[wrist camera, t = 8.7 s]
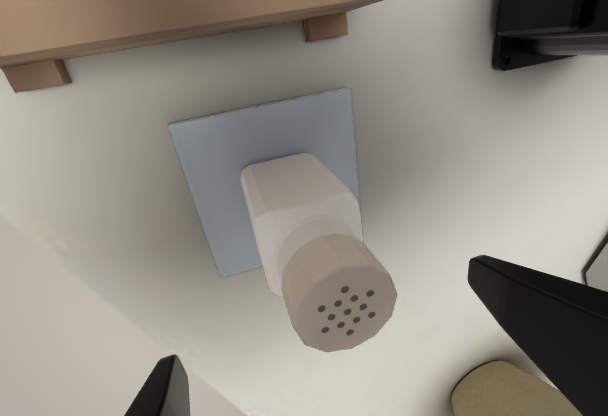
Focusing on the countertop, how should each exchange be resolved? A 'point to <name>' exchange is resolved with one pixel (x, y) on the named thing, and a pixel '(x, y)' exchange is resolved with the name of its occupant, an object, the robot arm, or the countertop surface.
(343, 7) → the walnut screen
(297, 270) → the pepper shaker
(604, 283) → the rock
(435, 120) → the countertop surface
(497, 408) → the plant pot
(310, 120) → the slate coaster
